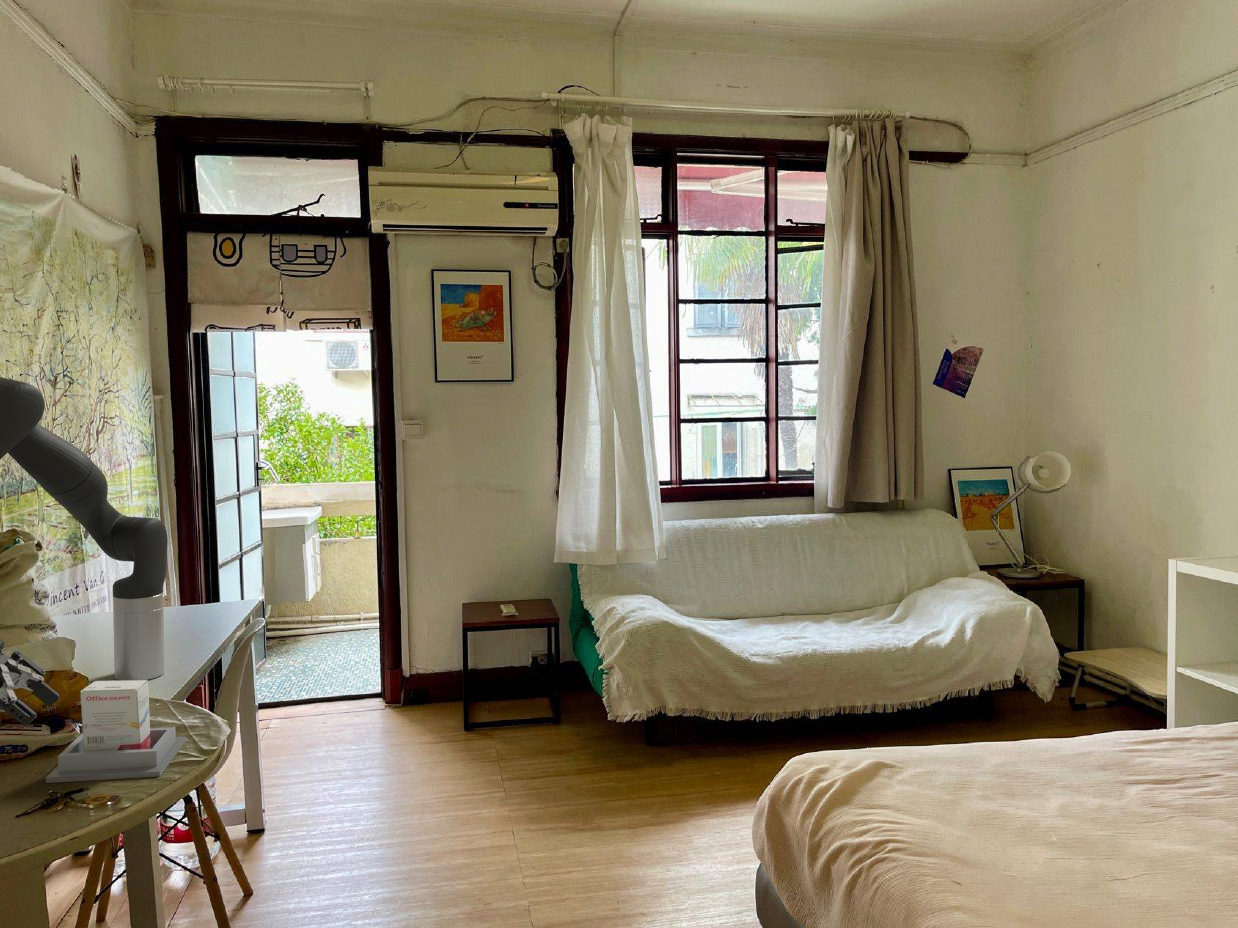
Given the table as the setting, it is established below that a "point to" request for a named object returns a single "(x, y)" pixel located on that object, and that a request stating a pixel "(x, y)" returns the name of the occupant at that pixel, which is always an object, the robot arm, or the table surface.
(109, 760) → the tray
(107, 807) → the table surface
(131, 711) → the ink box
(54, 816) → the table surface
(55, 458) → the robot arm
